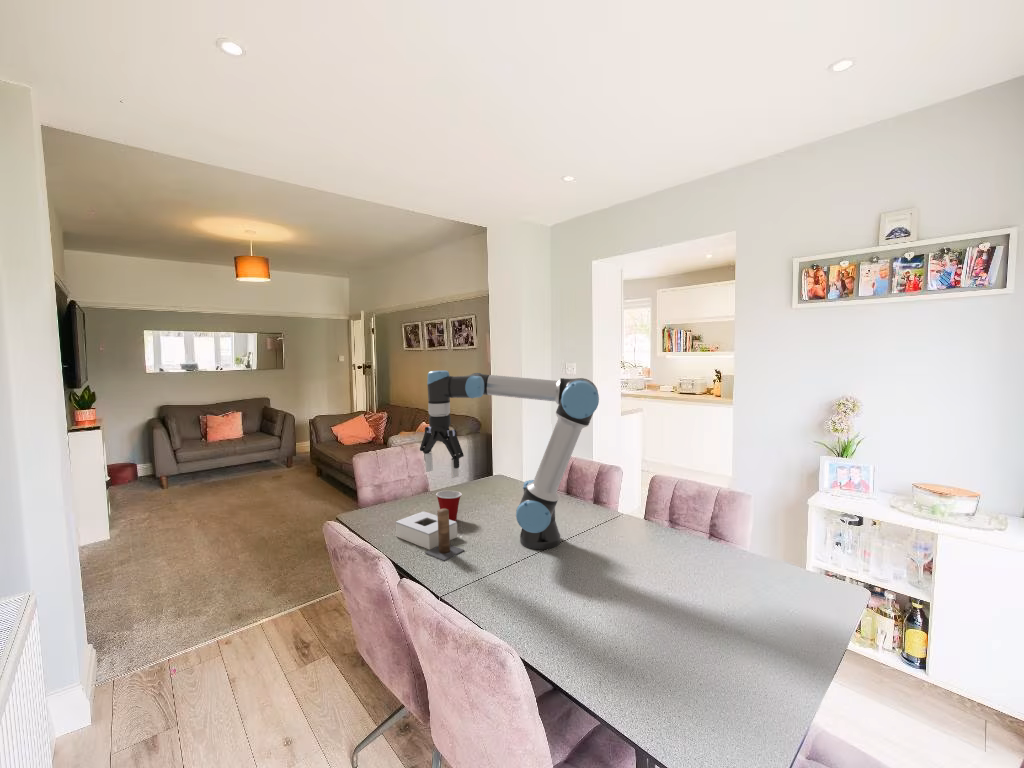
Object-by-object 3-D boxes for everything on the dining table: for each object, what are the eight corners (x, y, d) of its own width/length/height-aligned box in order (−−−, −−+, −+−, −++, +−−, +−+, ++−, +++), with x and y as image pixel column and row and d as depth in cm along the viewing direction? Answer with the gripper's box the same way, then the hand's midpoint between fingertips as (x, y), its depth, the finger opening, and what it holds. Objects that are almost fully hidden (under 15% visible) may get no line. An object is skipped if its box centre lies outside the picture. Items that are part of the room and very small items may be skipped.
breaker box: (457, 537, 182) (456, 521, 181) (429, 549, 171) (428, 533, 170) (423, 525, 194) (423, 511, 194) (395, 536, 184) (395, 521, 183)
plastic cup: (467, 520, 198) (466, 493, 197) (445, 527, 191) (444, 499, 190) (453, 514, 207) (452, 487, 206) (432, 520, 200) (431, 492, 199)
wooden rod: (452, 550, 169) (451, 510, 168) (444, 554, 166) (442, 513, 165) (444, 547, 171) (443, 507, 170) (436, 551, 168) (435, 511, 167)
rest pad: (464, 550, 169) (464, 549, 169) (443, 561, 162) (443, 560, 162) (445, 543, 176) (445, 542, 176) (424, 553, 168) (424, 552, 168)
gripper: (472, 416, 159) (474, 477, 161) (424, 410, 175) (427, 466, 177) (456, 419, 154) (458, 482, 155) (408, 413, 169) (411, 470, 171)
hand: (441, 474), depth 166 cm, fingers open, 13 cm apart
